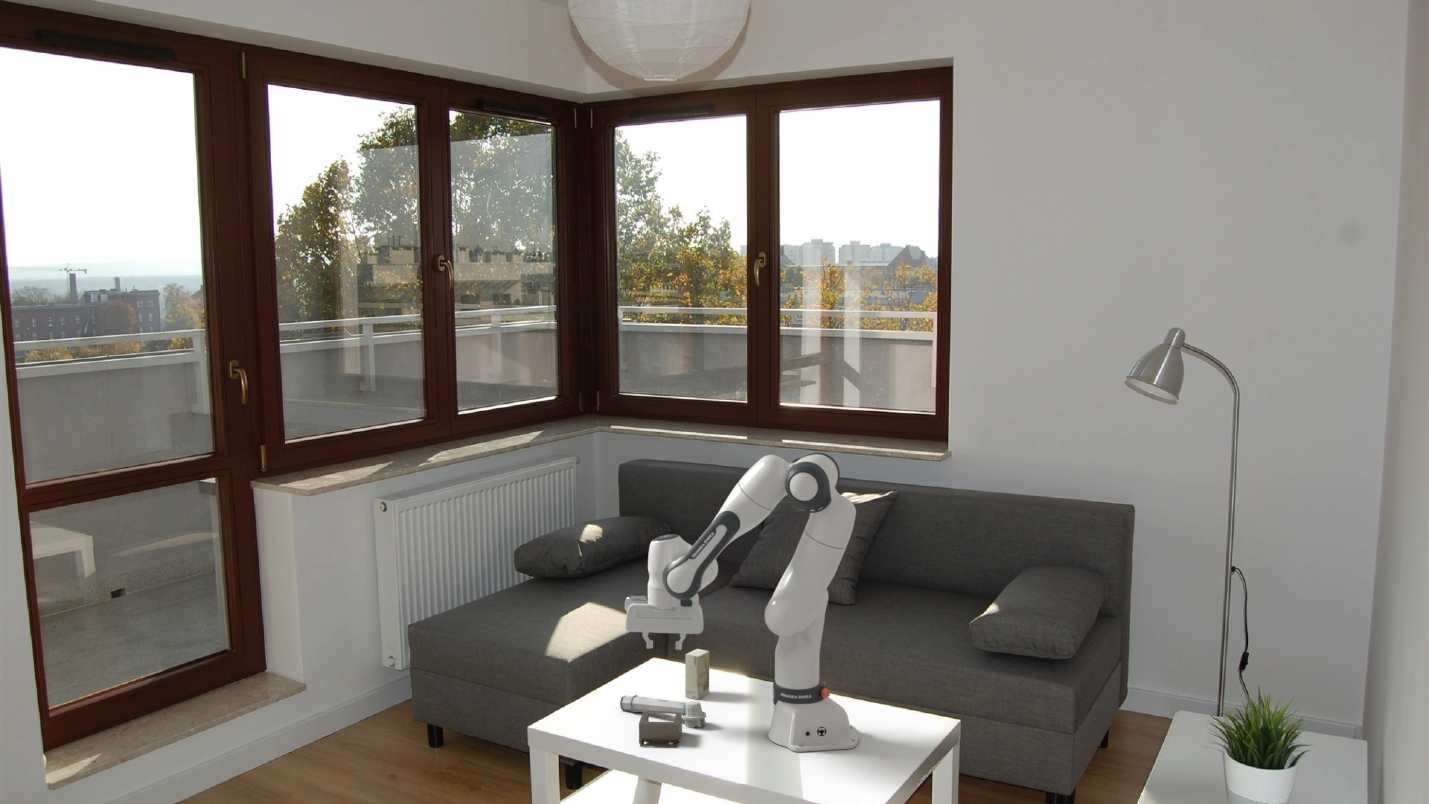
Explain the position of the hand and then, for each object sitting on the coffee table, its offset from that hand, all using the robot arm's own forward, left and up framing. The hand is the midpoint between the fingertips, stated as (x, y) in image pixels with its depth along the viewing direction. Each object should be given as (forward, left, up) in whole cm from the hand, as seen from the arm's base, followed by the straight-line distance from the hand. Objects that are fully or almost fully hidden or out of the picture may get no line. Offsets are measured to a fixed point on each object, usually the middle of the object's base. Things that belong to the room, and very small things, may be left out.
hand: (664, 648), depth 279 cm
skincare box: (-7, -18, -19) cm, 27 cm away
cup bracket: (0, +12, -19) cm, 22 cm away
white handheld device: (0, -1, -20) cm, 20 cm away
